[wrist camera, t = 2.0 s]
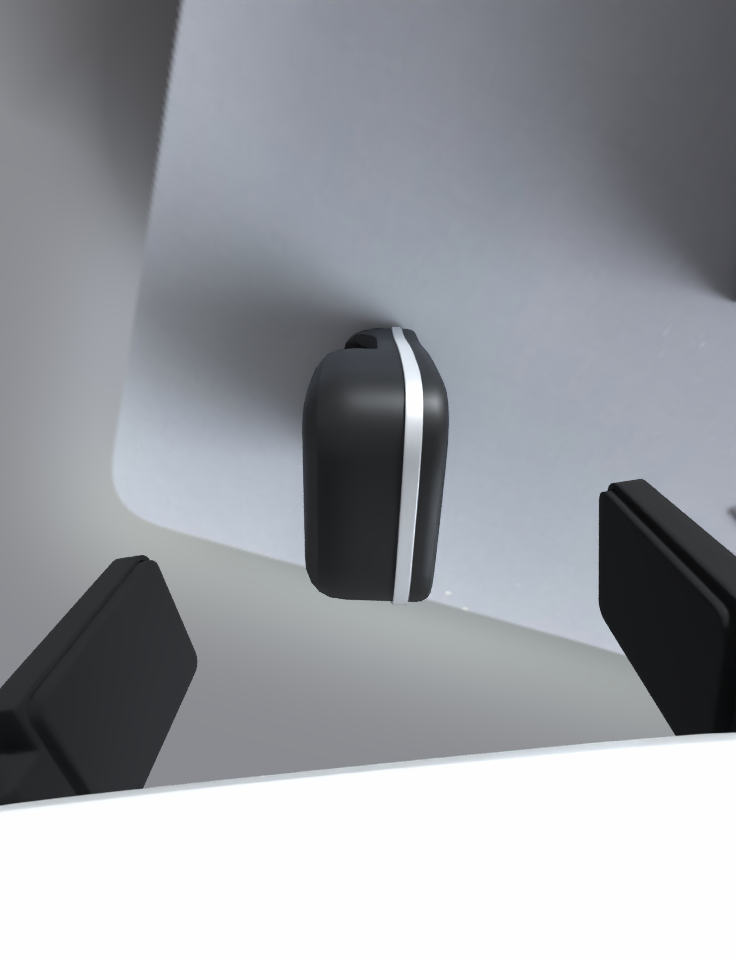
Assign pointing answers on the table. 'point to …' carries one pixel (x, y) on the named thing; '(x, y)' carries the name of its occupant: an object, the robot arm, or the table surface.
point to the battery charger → (374, 468)
